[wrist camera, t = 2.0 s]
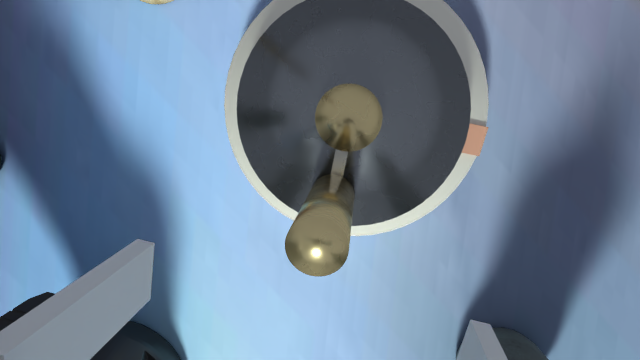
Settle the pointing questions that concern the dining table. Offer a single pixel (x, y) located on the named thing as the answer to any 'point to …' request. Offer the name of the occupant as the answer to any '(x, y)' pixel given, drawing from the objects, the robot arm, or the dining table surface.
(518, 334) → the bottle
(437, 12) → the wheel base
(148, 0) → the hand bell
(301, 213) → the handwheel
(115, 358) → the robot arm
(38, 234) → the dining table surface
